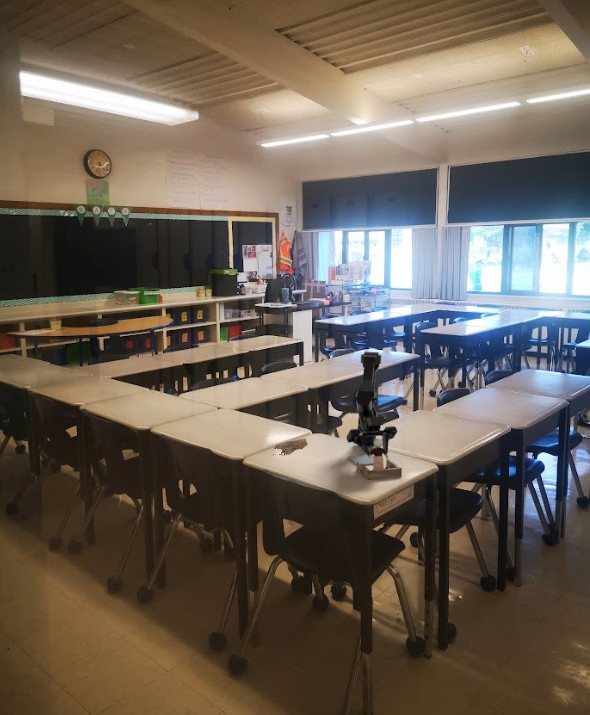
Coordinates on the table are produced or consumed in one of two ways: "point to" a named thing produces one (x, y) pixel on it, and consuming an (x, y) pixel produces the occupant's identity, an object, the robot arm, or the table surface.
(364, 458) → the slate mat
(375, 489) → the table surface
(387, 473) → the walnut stall
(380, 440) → the grandmother figurine
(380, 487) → the table surface
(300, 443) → the wooden fragment
